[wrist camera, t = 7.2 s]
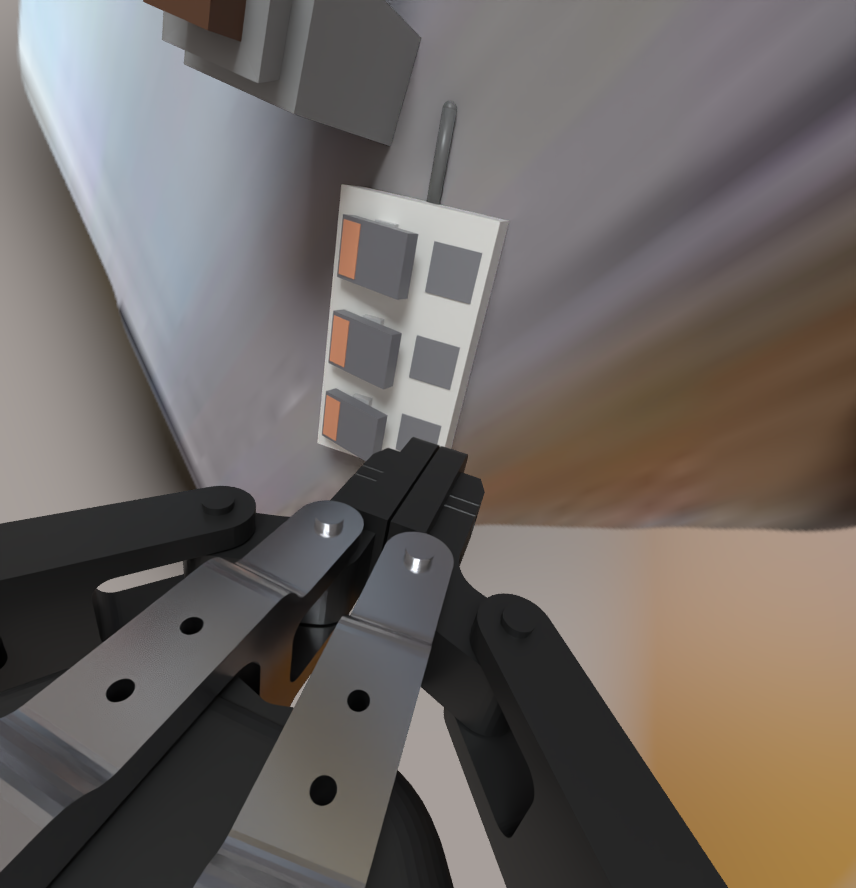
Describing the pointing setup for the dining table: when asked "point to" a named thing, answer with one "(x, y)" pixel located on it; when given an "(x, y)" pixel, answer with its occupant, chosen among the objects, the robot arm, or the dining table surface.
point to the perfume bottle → (303, 55)
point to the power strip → (422, 306)
